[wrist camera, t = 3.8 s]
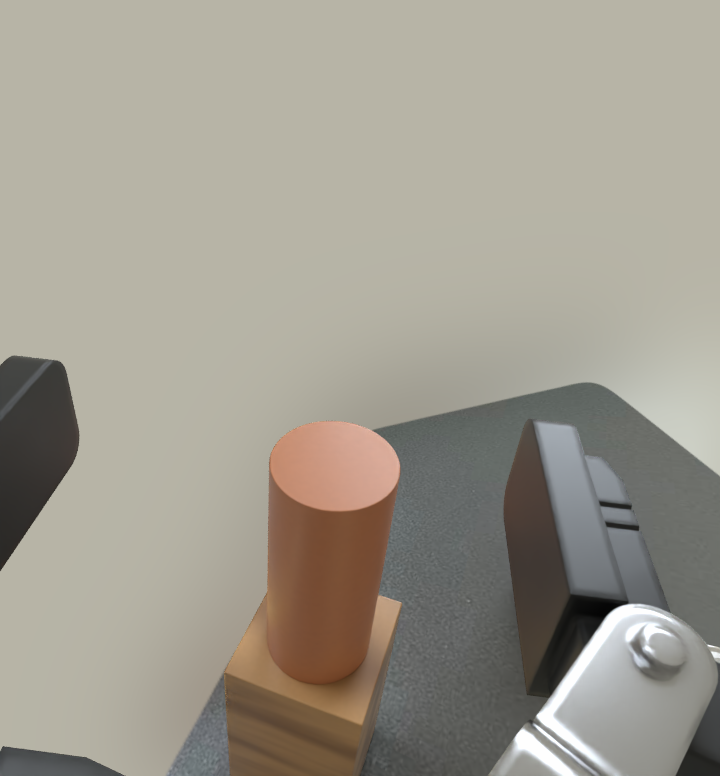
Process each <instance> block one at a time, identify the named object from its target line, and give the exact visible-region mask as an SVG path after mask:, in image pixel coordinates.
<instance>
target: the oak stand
mask: <svg viewBox="0 0 720 776" xmlns="http://www.w3.org/2000/svg"><path fill="white" fill-rule="evenodd" d="M401 607H402V603H401V602H398V601H395V600H392V599H389V598H386V597H383V596H380V595H378V599H377V604H376V609H375V615H374V620H373V626H372V631H371V637H370V642H369V647H368V651H367V654H366V656H365V658H364V660H363V662H362V663H361V664H360V666H359V667H358V668H357V669H356V670H355V671H354V672H353V673H351V674H350V675H348V676H347V677H345V678H343V679H341V680H339V681H336V682H332V683H328V684H309V683H305V682H301V681H298V680H296V679H294V678H292V677H290V676H288V675H287V674H286V673H284V672H283V671H282V670H281V669H280V668H279V667H278V666H277V664H276V663H275V662H274V660H273V658H272V657H271V655H270V652H269V649H268V644H267V593H266V596H265V597H264V599H263V601H262V603H261V604H260V606H259V608H258V610H257V612H256V614H255V616H254V617H253V619H252V621H251V623H250V625H249V627H248V629H247V630H246V632H245V634H244V636H243V638H242V640H241V642H240V643H239V645H238V647H237V649H236V651H235V653H234V655H233V656H232V658H231V660H230V662H229V664H228V666H227V667H226V669H225V671H224V681H225V698H226V715H227V732H228V749H229V766H230V776H360V774H361V771H362V768H363V765H364V761H365V758H366V755H367V752H368V748H369V745H370V742H371V739H372V736H373V732H374V729H375V725H376V720H377V716H378V711H379V706H380V702H381V697H382V693H383V688H384V684H385V679H386V675H387V670H388V666H389V661H390V657H391V652H392V648H393V643H394V639H395V634H396V630H397V625H398V621H399V616H400V612H401Z"/></svg>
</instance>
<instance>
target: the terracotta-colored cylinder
mask: <svg viewBox="0 0 720 776" xmlns="http://www.w3.org/2000/svg"><path fill="white" fill-rule="evenodd" d="M399 478H400V463H399V460H398V457H397V455H396V453H395V451H394V449H393V448H392V447H391V445H390V444H389V443H388V442H387V441H386V440H385V439H383V438H382V437H381V436H379V435H378V434H376V433H375V432H373V431H371V430H369V429H367V428H364V427H362V426H359V425H356V424H352V423H347V422H340V421H321V422H314V423H309V424H306V425H303V426H300V427H298V428H295V429H293V430H292V431H290V432H288V433H287V434H286V435H284V436H283V437H282V438H281V439H280V440H279V441H278V442H277V444H276V445H275V446H274V448H273V450H272V452H271V456H270V462H269V517H268V519H269V521H268V587H267V588H268V589H267V644H268V649H269V652H270V655H271V657H272V658H273V660H274V662H275V663H276V664H277V666H278V667H279V668H280V669H281V670H282V671H283V672H284V673H286V674H287V675H288V676H290V677H292V678H294V679H296V680H298V681H301V682H305V683H309V684H328V683H332V682H336V681H339V680H341V679H343V678H345V677H347V676H348V675H350V674H351V673H353V672H354V671H355V670H356V669H357V668H358V667H359V666H360V664H361V663H362V662H363V660H364V658H365V656H366V654H367V651H368V647H369V642H370V637H371V631H372V626H373V620H374V615H375V609H376V604H377V599H378V593H379V588H380V582H381V577H382V571H383V566H384V560H385V555H386V549H387V544H388V538H389V533H390V527H391V522H392V516H393V511H394V505H395V500H396V494H397V489H398V483H399Z"/></svg>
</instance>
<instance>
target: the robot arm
mask: <svg viewBox="0 0 720 776" xmlns="http://www.w3.org/2000/svg"><path fill="white" fill-rule="evenodd" d="M78 446H79V429H78V424H77V419H76V415H75V410H74V405H73V401H72V396H71V391H70V387H69V383H68V378H67V373H66V370H65V367H64V366H63V364H62V363H61V362H59V361H55V360H48V359H39V358H31V357H23V356H11V357H9V358H8V359H7V360H5V361H4V362H3V363H2V364H1V365H0V571H1V569H2V568H3V566H4V565H5V563H6V562H7V560H8V559H9V557H10V556H11V554H12V553H13V552H14V550H15V549H16V547H17V546H18V544H19V543H20V541H21V540H22V538H23V537H24V535H25V534H26V532H27V531H28V529H29V528H30V526H31V525H32V523H33V522H34V520H35V519H36V517H37V516H38V515H39V513H40V512H41V510H42V508H43V507H44V506H45V504H46V503H47V501H48V500H49V498H50V497H51V495H52V494H53V492H54V491H55V489H56V488H57V486H58V485H59V483H60V482H61V480H62V479H63V477H64V476H65V474H66V473H67V472H68V470H69V469H70V467H71V465H72V464H73V462H74V460H75V457H76V454H77V451H78ZM631 507H632V504H631V501H630V499H629V496H628V493H627V490H626V488H625V485H624V482H623V480H622V479H621V478H620V477H619V475H618V474H617V473H616V472H615V471H614V470H613V469H612V467H611V466H610V465H609V464H608V463H607V462H606V461H605V459H604V458H603V457H595V456H587V455H585V454H584V451H583V448H582V445H581V441H580V438H579V435H578V431H577V429H576V426H575V425H574V424H571V423H562V422H554V421H546V420H537V419H528V420H527V422H526V423H525V426H524V428H523V431H522V435H521V438H520V442H519V445H518V448H517V452H516V455H515V458H514V462H513V465H512V468H511V472H510V475H509V478H508V482H507V486H506V491H505V498H504V523H505V531H506V539H507V546H508V554H509V562H510V569H511V577H512V584H513V592H514V600H515V607H516V615H517V622H518V630H519V638H520V645H521V653H522V661H523V668H524V676H525V683H526V691H527V695H533V696H540V697H548V698H549V699H548V701H547V702H546V704H545V705H544V706H543V708H542V709H541V711H540V712H539V713H538V715H537V716H536V717H535V719H534V720H533V721H531V720H529V721H528V722H527V723H526V724H525V725H524V726H523V728H522V729H521V730H520V731H519V733H518V734H517V735H516V737H515V738H514V740H513V741H512V742H511V744H510V745H509V747H508V748H507V749H506V751H505V752H504V754H503V755H502V756H501V758H500V759H499V761H498V762H497V764H496V765H495V766H494V768H493V769H492V771H491V772H490V773H489V775H488V776H720V663H718V662H717V661H715V659H714V657H713V655H712V653H711V651H710V649H709V647H708V646H707V645H706V643H705V642H704V640H703V639H702V638H701V637H700V636H699V635H698V634H697V632H696V631H695V630H693V629H692V628H691V627H690V626H689V625H688V624H686V623H685V622H684V621H682V620H681V619H679V618H678V617H676V616H674V615H673V614H671V612H670V610H669V607H668V604H667V601H666V599H665V596H664V593H663V590H662V587H661V585H660V582H659V579H658V576H657V574H656V571H655V568H654V565H653V562H652V560H651V557H650V554H649V551H648V549H647V546H646V543H645V540H644V538H643V535H642V532H641V531H639V524H638V521H637V518H636V515H635V513H634V510H632V509H631ZM0 776H124V775H122V774H120V773H118V772H116V771H114V770H112V769H110V768H108V767H105V766H103V765H101V764H99V763H97V762H95V761H93V760H91V759H88V758H86V757H79V756H70V755H64V754H56V753H48V752H41V751H34V750H26V749H18V748H11V747H4V746H3V747H2V749H1V751H0Z"/></svg>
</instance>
